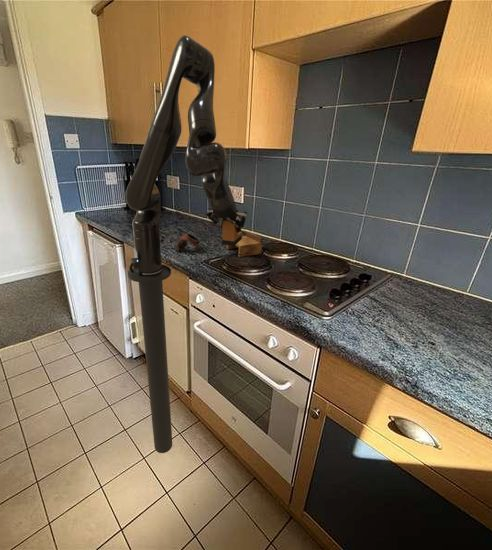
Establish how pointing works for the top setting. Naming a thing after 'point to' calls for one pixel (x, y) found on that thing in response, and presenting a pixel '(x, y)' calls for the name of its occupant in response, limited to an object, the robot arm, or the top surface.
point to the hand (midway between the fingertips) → (232, 229)
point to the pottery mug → (184, 241)
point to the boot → (230, 234)
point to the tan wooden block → (248, 245)
